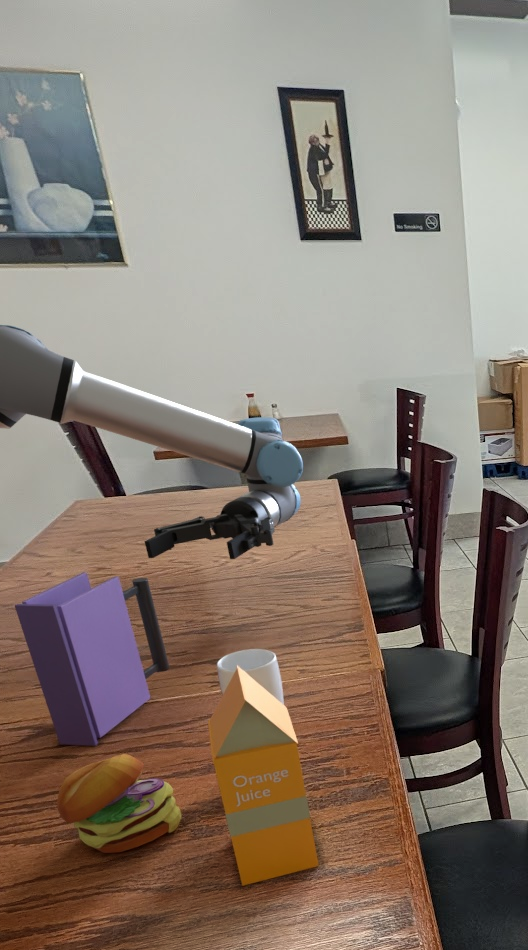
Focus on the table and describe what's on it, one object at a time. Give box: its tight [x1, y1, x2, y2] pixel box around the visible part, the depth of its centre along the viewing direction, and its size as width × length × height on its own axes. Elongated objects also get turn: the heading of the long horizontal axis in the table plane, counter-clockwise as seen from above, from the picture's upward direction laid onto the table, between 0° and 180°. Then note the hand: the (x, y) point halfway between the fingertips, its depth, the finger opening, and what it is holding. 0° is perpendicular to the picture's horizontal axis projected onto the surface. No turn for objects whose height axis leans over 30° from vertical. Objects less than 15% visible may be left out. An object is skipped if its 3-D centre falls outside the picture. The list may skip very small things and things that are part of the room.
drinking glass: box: [216, 648, 285, 706], centre depth 99 cm, size 7×7×15 cm
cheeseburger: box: [56, 753, 183, 854], centre depth 89 cm, size 10×11×10 cm
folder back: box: [14, 571, 99, 747], centre depth 110 cm, size 5×13×20 cm, turn 174°
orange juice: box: [207, 665, 320, 887], centre depth 82 cm, size 8×9×20 cm
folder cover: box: [57, 576, 171, 739], centre depth 113 cm, size 2×18×18 cm, turn 174°
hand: (189, 550), depth 129 cm, fingers open, 13 cm apart
